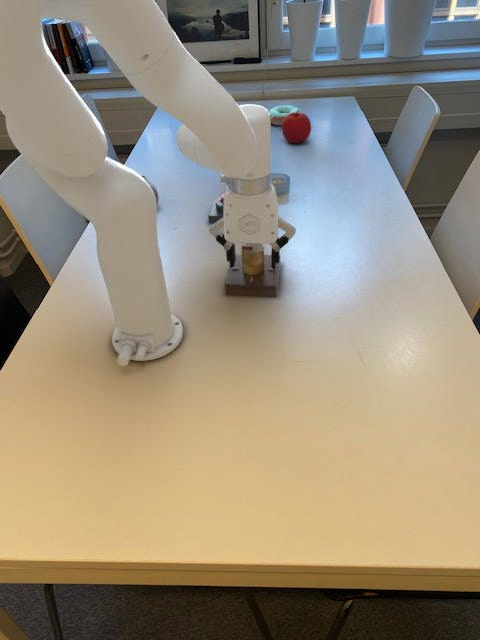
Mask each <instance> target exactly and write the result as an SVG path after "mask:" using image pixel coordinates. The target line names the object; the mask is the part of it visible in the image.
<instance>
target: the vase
mask: <svg viewBox="0 0 480 640" xmlns="http://www.w3.org/2000/svg"><path fill="white" fill-rule="evenodd" d="M141 176H142V177H143V178H144V179H145V180H146V181H147V182H148V184H149V185H150V186H151V188H152V190H153V192H154V194H155V197H156V202H157V207H158V206H159V202H160V201H159V199H160V197H159V193H158V190H157V188H156V186H155V185H154V184H153V183H152V182H151V181H150V180H148V178H147V176H146V175H141Z"/></svg>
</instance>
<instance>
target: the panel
mask: <svg viewBox="0 0 480 640" xmlns="http://www.w3.org/2000/svg"><path fill="white" fill-rule="evenodd" d="M235 255H236V261H235V265H234V267H233V268H230V266H229V268H228V272H227V275H226V279H225V283H224V291H225V295H227V296H250V297H253V296H254V297H275V298H276V297H277V295H278V287H279V281H280V280H279V279H280V270H281V254H279V263H276V267H275V269H272V267H271V254H264V271H263V272H262V273H261V274H258V275H248V274H246V273H244V272H243V267H242V253H235Z"/></svg>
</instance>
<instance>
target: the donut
mask: <svg viewBox="0 0 480 640" xmlns="http://www.w3.org/2000/svg"><path fill="white" fill-rule="evenodd" d="M297 110H299V111H298V113H302V112H301V110H300V109H299V108H298V107H297V106H292V105H280V106H274V107H273V108H271V109H270V110H268V112H269V114H270V122H271V124H272V125H274V126H280V127H282V123H283V120H284V119H285V117H286V116H287V115H289V114H290V113H297Z"/></svg>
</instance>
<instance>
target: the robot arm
mask: <svg viewBox="0 0 480 640" xmlns="http://www.w3.org/2000/svg"><path fill="white" fill-rule="evenodd" d="M43 19H48V20H56V21H57V20H59V21H65V22H73V23H77V24H83V25H84V26H85V27H86V29H88V30H89V32H90V33H91V34H92V35H93V37H94V38H95V39H96V41H97V42H98V43H99V44H100V46H101V47H102V48H103V50H105V52H106V53H107V55H108V56H109V57H110V58H111V60H112V61H113V63H114V64H115V65H116V66H117V67H118V68H119V70H120V72H122V74H123V75H124V76H125V78H126V79H127V81H128V82H129V83H130V85H131V86H132V87H133V88H134V89H135V91H137V93H138V94H140V95H141V96H142V97H143V98H145V99H146V100H147V101H148V102H150V103H151V104H152V105H154V106H155V107H156V108H158V109H160V110H161V111H163V112H164V113H166V114H168V115H170V116H171V117H173V118H174V119H176V120H177V121H178V122H179V123H181V124H180V127H179V129H177V133H176V145H177V148H178V150H179V152H180V153H181V155H183V157H184V158H186V159H187V160H189V161H190V162H192V163H195V164H197V165H198V166H201V167H203V168H205V169H208V170H211V171H213V172H215V173H217V174H219V175H220V183H224V184H226V185H227V186H226V188H225V189H224V193H225V194H224V207H223V218H221V219H220V220H218V221H217V222H216V223H214V224H211V225H209V228H208V232H209V234H210V235H211V236H212V237H213V238H215V241H216V242H217V243H218V244H220V246H222V247H223V249H224V251H225V254H226V255H225V256H226V262H228V263H229V267H230V268H233V267H234V265H235V261H236V255H235V254H236V244H246V243H259V244H262V245H263V244H265V245H267V244H269V245H270V247H271V253H270V255H271V267H272V269H275V267H276V263H279V255H280V251H281V249H282V248H283V247H285V245H287V244H288V243H289V241H291V240H292V238H293V237H294V236H295V234H296V230H297V229H296V227H295V226H293V225H292V224H290V223H289V222H287V221H286V220H284V219H283V218H282V217H280V214H279V213H280V212H279V203H278V202H279V201H278V197H277V196H278V195H277V191H276V187H275V185H274V184H272V129H271V128H272V126H271V124H272V123H271V122H270V114H269V110H268V109H267V108H266V107H264V106H262V105H258V104H250V103H249V104H248V103H247V104H240V105H239V104H238V103H237V101H236V100H235V99H234V98H233V97H232V95H231V94H230V93H229V92H228V91H227V90H226V89H225V88H224V86H222V84H220V82H219V81H218V80H217V79H216V78H214V76H213V75H211V73H209V72H208V70H206V68H205V67H204V66H203V65H202V64H201V63H200V62H199V61H198V60H197V59H196V58H195V57H193V56H192V54H190V53H189V51H188V50H187V49H186V48H185V46H184V45H183V43H182V42H181V40H180V39H179V37H178V35H177V34H176V32H175V31H174V29H173V28H172V26H171V25H170V23H169V21H168V20H167V18H166V17H165V15H164V14H163V12H162V10H161V9H160V7H159V5H158V3H157V2H156V0H0V111H1V113H2V114H3V115H4V117H5V127H6V131H7V135H8V136H9V138H10V141H11V143H12V144H13V145H14V147H15V149H16V150H18V152H19V153H20V154H21V155H22V156H23V158H24V159H25V160H26V161H27V162H28V163H29V164H30V166H31V167H32V168H33V169H34V170H35V171H36V173H38V175H40V177H42V179H43V180H44V181H45V182H46V183H47V184H48V185H49V186H50V187H51V188H52V190H53V191H54V192H55V193H56V194H57V195H58V196H59V197H60V198H61V200H63V201H64V203H66V204H67V205H68V206H70V207H71V208H72V209H73V210H74V211H76V212H78V213H79V214H80V215H81V216H83V217H84V218H85V219H86V220H88V221H89V222H90V223H91V224H92V226H93V228H94V231H95V235H96V255H97V260H98V262H99V263H98V265H99V267H100V271H101V273H102V277H103V281H104V286H105V288H106V291H107V295H108V298H109V303H110V306H111V309H112V313H113V316H114V320H115V325H116V327H115V328H114V329H113V332H112V335H111V343H112V347H113V349H114V350H115V352H116V353H117V354H118V356H117V359H116V363H117V364H118V365H120V366H123V367H125V366H128V365H129V363H130V360H131V361H135V362H147V361H152V360H156V359H159V358H162V357H164V356H166V355H168V354H170V353H171V352H173V351H174V350H175V349H176V348H177V347H179V345H180V344H181V342H182V339H183V337H184V327H183V324H182V321H181V320H180V319H179V318H178V317H177V316H176V315H174V314H172V311H171V307H170V306H171V305H170V300H169V295H168V290H167V289H168V288H167V284H166V279H165V278H166V277H165V272H164V267H163V262H162V257H161V252H160V246H159V239H158V206H157V202H156V197H155V194H154V192H153V190H152V188H151V186H150V185H149V184H148V182H147V181H146V180H145V179H144V178H143V177H142V176H143V175H140V174H139V173H138V172H136V171H135V170H134V169H132V168H130V167H128V166H127V165H125V164H123V163H121V162H119V161H116V160H114V159H112V158H111V157H109V156H108V141H107V136H106V134H105V131H104V129H103V127H102V124H101V123H100V121H99V120H98V119H97V117H96V116H95V114H94V113H93V112H92V111H91V109H90V108H89V107H88V105H87V103H86V102H85V101H84V100H83V98H82V97H81V96H80V94H79V93H78V91H77V90H76V88H75V87H74V86H73V85H72V83H71V82H70V80H69V79H68V78H67V76H66V75H65V73H64V72H63V70H62V69H61V67H60V65H59V64H58V62H57V61H56V59H55V57H54V55H53V54H52V52H51V51H50V48H49V46H48V43H47V42H46V38H45V35H44V30H43V29H44V28H43ZM222 228H223V232H221V231H220V230H221V229H222ZM279 229H280V230H282V231H283V232H285V233H283V234H282V235H281V236H280V237H279Z"/></svg>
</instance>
